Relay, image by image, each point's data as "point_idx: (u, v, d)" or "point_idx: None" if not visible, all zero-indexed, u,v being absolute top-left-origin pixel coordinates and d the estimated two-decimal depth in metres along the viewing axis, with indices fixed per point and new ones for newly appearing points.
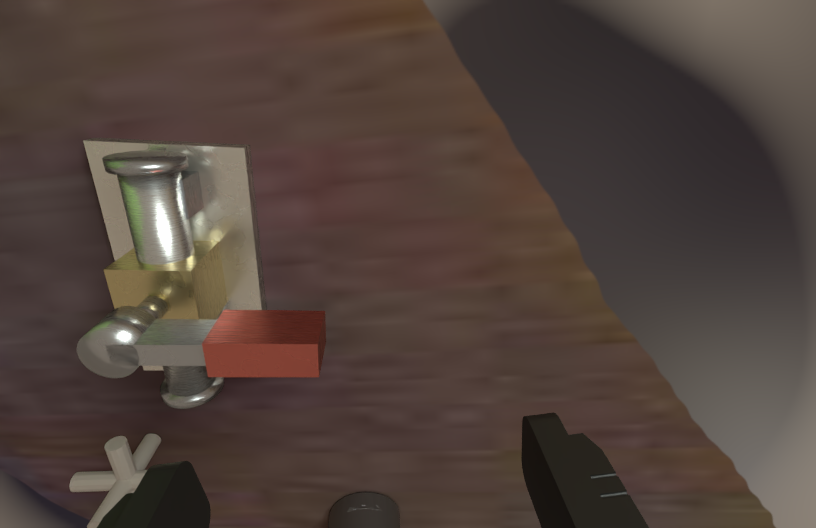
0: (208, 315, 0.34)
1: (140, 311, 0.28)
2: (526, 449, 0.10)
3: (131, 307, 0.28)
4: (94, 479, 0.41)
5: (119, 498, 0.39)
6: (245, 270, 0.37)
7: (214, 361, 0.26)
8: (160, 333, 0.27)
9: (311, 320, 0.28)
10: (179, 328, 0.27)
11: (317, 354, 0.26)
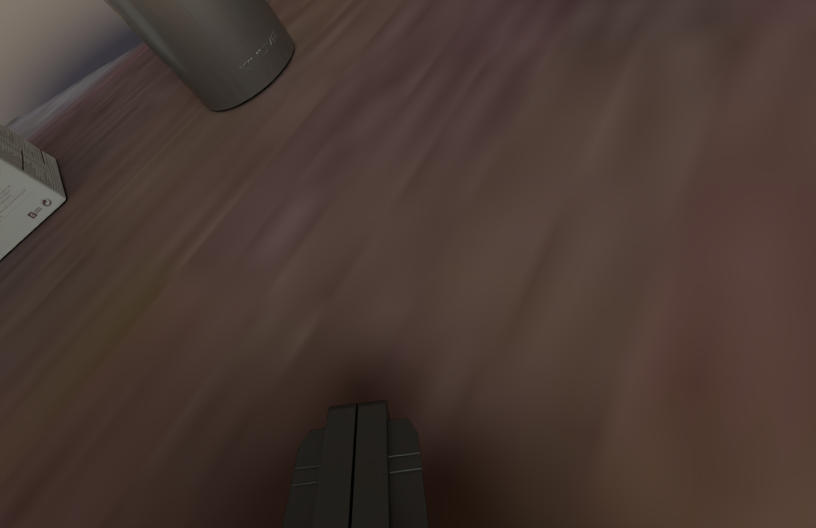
0: None
1: None
2: None
3: None
4: None
5: None
6: None
7: None
8: None
9: None
10: None
11: None
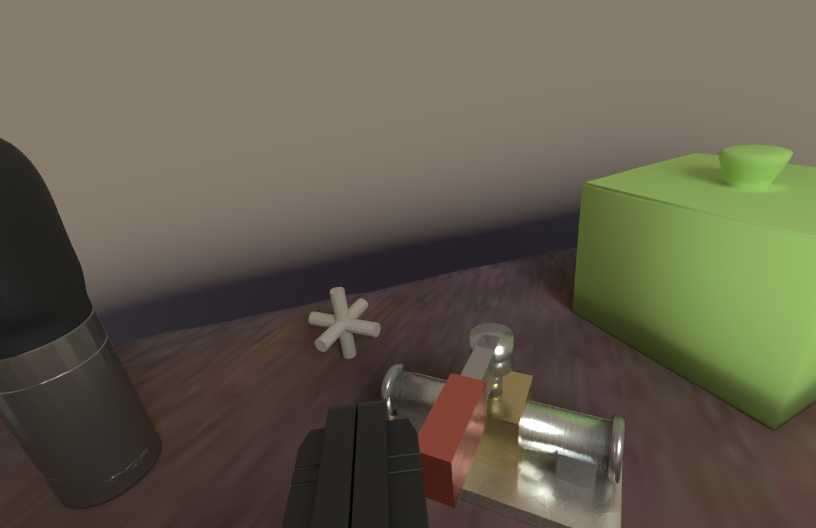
0: None
1: (507, 371, 0.34)
2: None
3: (511, 368, 0.34)
4: (358, 310, 0.55)
5: (341, 310, 0.52)
6: (480, 482, 0.35)
7: (464, 382, 0.29)
8: (492, 369, 0.32)
9: (458, 483, 0.25)
10: (489, 383, 0.32)
11: (437, 458, 0.24)
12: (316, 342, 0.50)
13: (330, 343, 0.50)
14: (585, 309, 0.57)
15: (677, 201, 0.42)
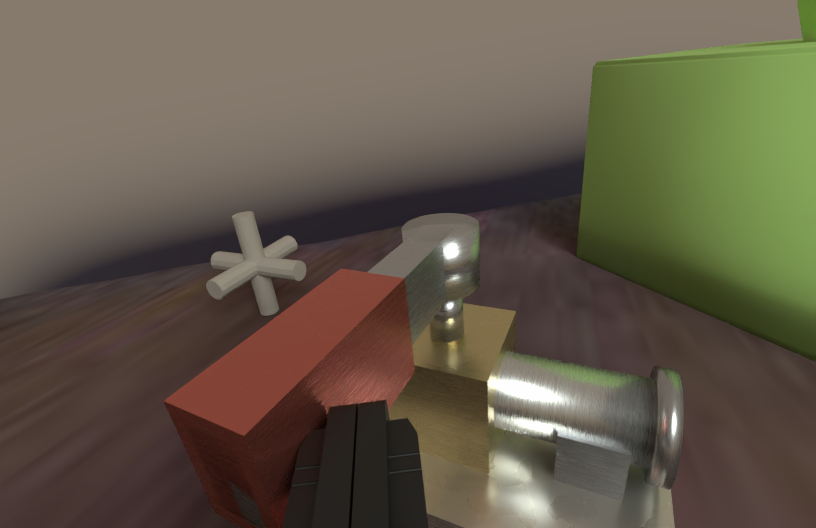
0: None
1: (467, 289, 0.19)
2: None
3: (476, 287, 0.19)
4: (281, 249, 0.40)
5: (249, 243, 0.37)
6: None
7: (361, 280, 0.14)
8: (434, 277, 0.17)
9: None
10: (426, 301, 0.17)
11: (218, 424, 0.09)
12: (208, 285, 0.34)
13: (229, 287, 0.35)
14: (594, 250, 0.42)
15: None
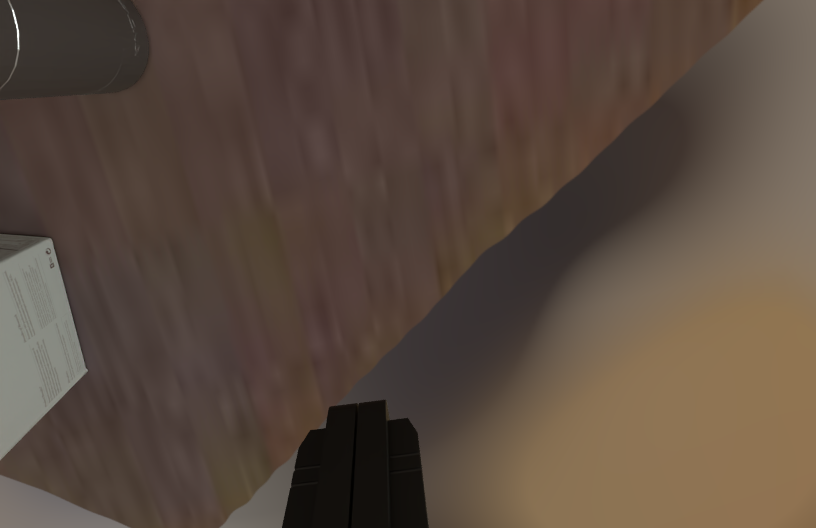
0: None
1: None
2: None
3: None
4: None
5: None
6: None
7: None
8: None
9: None
10: None
11: None
12: None
13: None
14: None
15: None
